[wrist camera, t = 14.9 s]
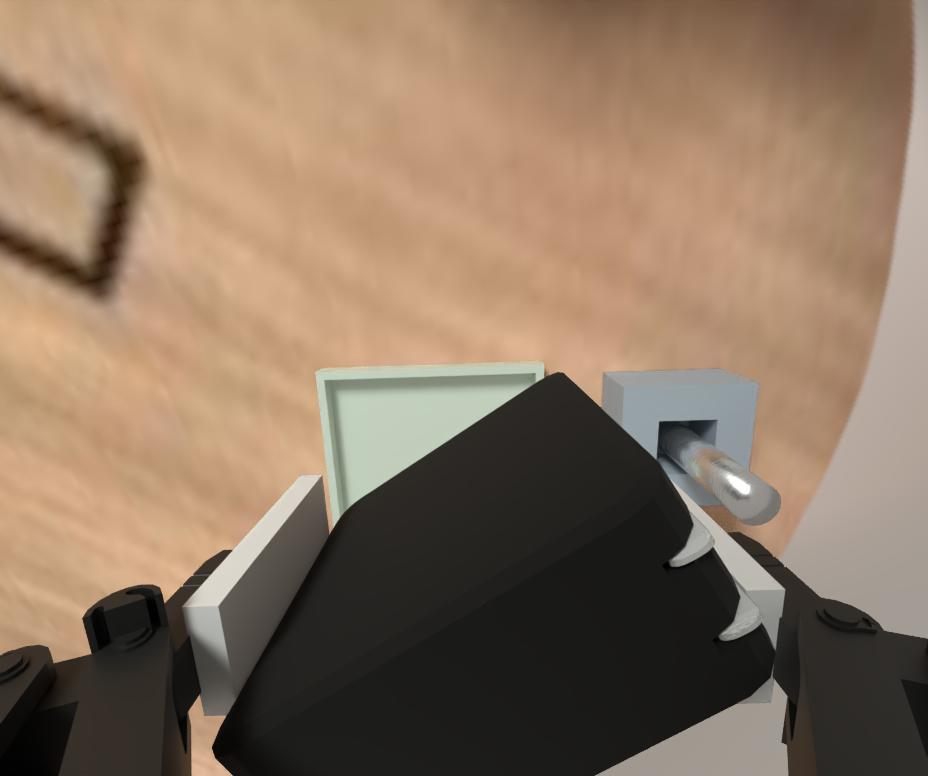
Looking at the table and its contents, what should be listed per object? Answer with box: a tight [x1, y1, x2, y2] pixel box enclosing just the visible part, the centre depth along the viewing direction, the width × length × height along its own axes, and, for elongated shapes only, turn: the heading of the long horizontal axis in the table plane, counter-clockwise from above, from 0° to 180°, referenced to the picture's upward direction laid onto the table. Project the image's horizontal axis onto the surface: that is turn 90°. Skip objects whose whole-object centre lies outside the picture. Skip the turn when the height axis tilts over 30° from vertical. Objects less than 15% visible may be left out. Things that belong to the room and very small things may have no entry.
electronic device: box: [212, 372, 776, 776], centre depth 13 cm, size 4×10×10 cm, turn 125°
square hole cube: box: [602, 369, 759, 506], centre depth 34 cm, size 9×9×5 cm
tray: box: [316, 361, 544, 527], centre depth 36 cm, size 15×17×2 cm
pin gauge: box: [657, 421, 781, 526], centre depth 30 cm, size 2×2×12 cm
